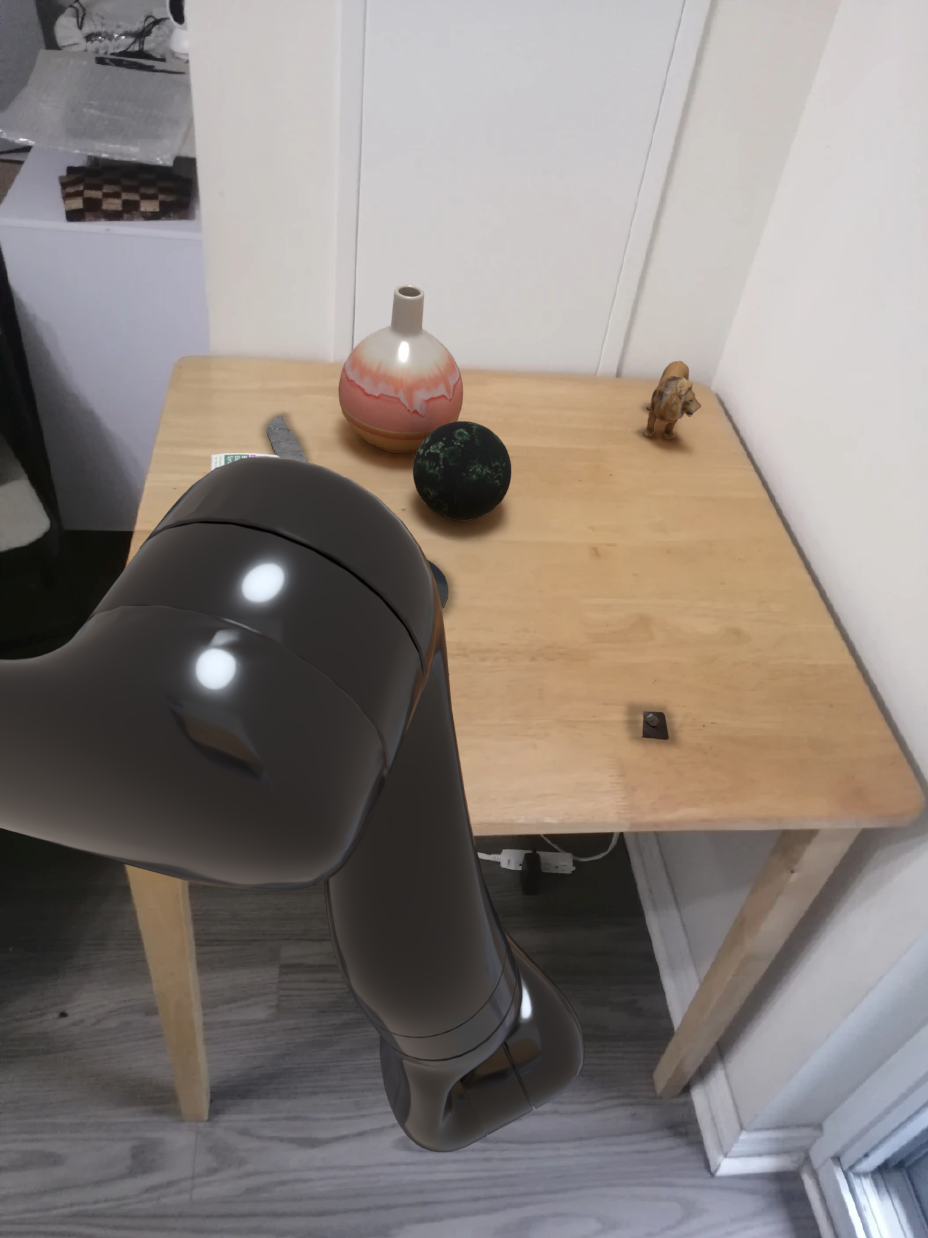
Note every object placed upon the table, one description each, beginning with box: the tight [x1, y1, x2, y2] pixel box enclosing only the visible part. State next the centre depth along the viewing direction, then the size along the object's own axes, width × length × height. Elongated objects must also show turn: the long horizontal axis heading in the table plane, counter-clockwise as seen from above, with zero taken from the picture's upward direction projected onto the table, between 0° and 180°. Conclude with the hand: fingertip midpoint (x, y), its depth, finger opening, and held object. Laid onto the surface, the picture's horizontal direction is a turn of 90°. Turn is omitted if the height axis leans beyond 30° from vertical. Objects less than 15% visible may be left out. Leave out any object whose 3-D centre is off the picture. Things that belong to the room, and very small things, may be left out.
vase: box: [337, 284, 464, 454], centre depth 101 cm, size 14×14×18 cm
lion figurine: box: [642, 360, 702, 440], centre depth 113 cm, size 15×5×9 cm, turn 173°
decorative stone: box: [412, 420, 512, 522], centre depth 95 cm, size 10×10×10 cm
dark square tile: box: [641, 710, 670, 739], centre depth 81 cm, size 3×3×1 cm
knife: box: [266, 414, 308, 462], centre depth 100 cm, size 22×1×5 cm
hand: (294, 620), depth 69 cm, fingers open, 5 cm apart
